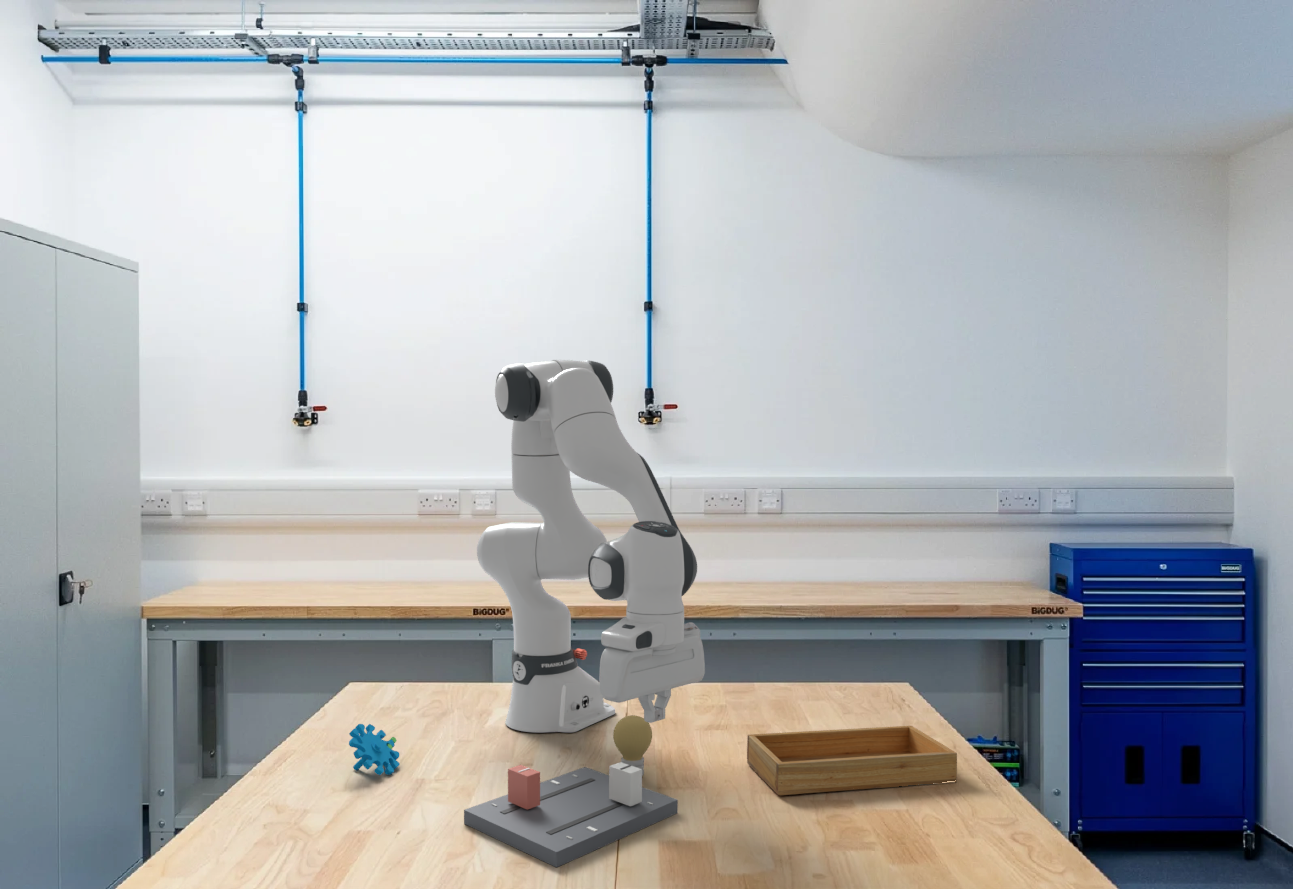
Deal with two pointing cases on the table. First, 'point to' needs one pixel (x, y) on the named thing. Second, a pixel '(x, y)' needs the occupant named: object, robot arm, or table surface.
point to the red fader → (524, 787)
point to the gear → (373, 750)
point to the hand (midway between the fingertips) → (654, 720)
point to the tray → (849, 759)
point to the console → (568, 817)
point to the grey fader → (625, 784)
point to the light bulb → (632, 740)
